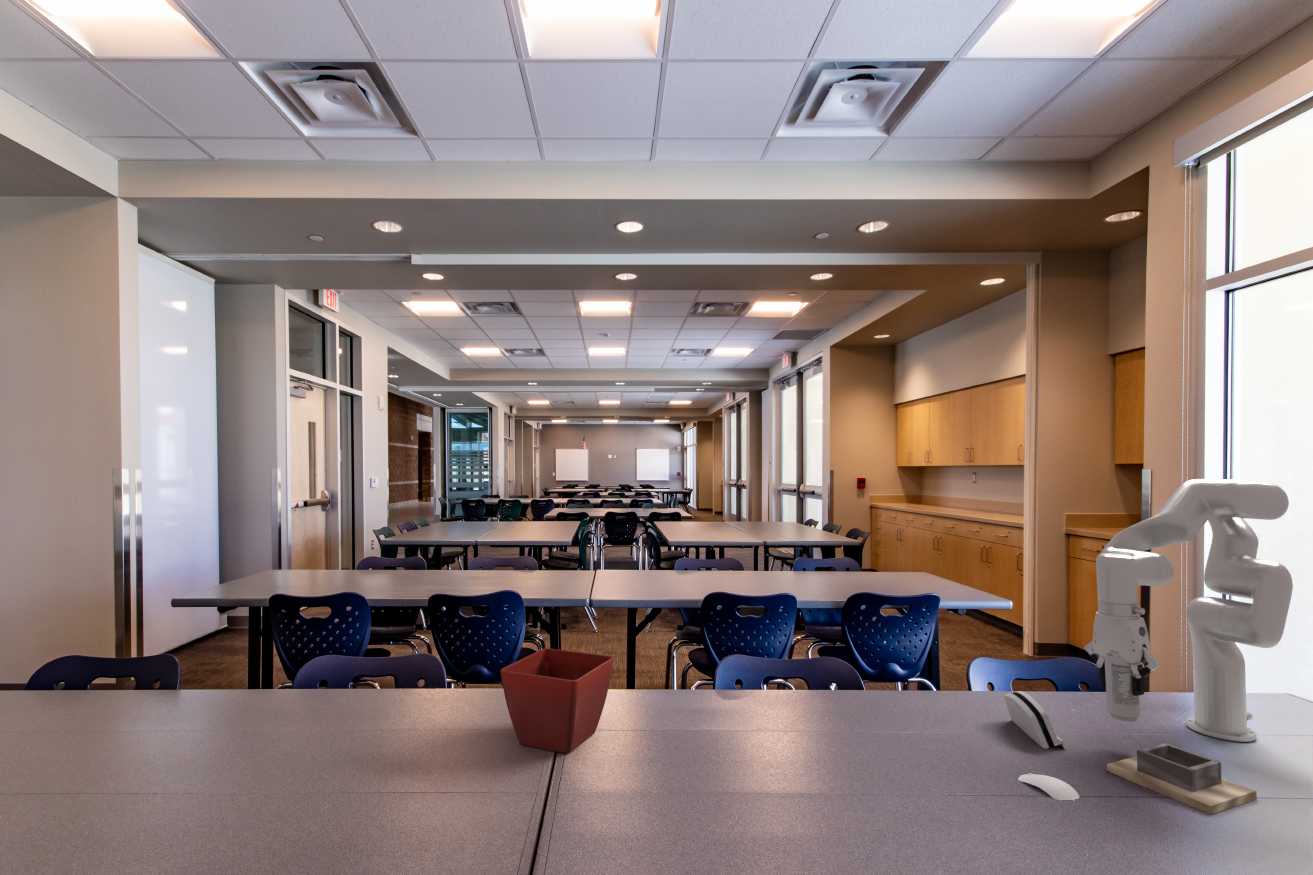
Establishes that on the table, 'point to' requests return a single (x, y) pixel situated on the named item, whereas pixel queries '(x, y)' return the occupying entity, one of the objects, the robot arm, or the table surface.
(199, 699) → the table surface
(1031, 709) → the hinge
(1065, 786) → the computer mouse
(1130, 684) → the energy drink can
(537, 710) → the plant pot
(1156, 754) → the socket board
